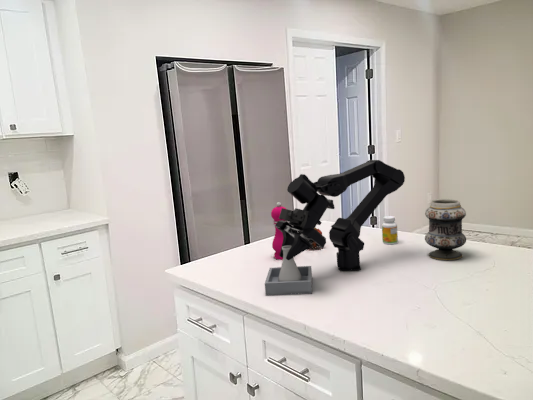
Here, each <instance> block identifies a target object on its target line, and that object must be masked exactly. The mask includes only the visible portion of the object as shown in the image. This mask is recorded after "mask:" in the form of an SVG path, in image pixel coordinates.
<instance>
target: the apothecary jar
mask: <svg viewBox="0 0 533 400" xmlns="http://www.w3.org/2000/svg"><path fill="white" fill-rule="evenodd" d="M424 215H425V217H426V218H427V219H428V232H427V233H426V234H425V236H424V241H425V243H426V244H427V245H429V246H430V247H432V248H435V250H432V251H430V252H429V253H428V256H429V257H430V258H431V259H435V260H438V261H456V260H461V259H462V258H463V257H464V256H463V253H461V252H459V251H458V250H455V249H459V248H461V247H463V246H464V245H465V244H466V243H467V237H466V235H465V234H464V233H463V219H464V218H465V217H466V216H467V211H466V210H465V209H464V208H463V207H462V205H461V201H460V200H458V199H453V198H437V199H432V200H431V201H430V205H429V207H427V208H426V209H425V211H424Z"/></svg>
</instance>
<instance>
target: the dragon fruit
mask: <svg viewBox="0 0 533 400" xmlns="http://www.w3.org/2000/svg"><path fill="white" fill-rule="evenodd" d="M314 229H316V230H317V231H318V232H319V233H320V234H322V235H323V232H322V231H321V229H320V228H317V226H316V227H315V228H314ZM312 246H313V247H312V248H311V247H310V248H309V249H317V248H318V247H317V246H316V243H315V242H314V241H313V243H312Z"/></svg>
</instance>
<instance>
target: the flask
mask: <svg viewBox="0 0 533 400" xmlns="http://www.w3.org/2000/svg"><path fill="white" fill-rule="evenodd" d="M290 248H291V246H283V247H282V250H283V260H282V263H281V266H280V267H281V270H280V274H279V278H278V282H284V281H301V280H302V276H301V274H300V272H299V270H298V267H297V266H298V265H297V263H296V261H295V259H294V258H295V257H293V258H292V259H290V260H287V259H286V256H287V254H288V252H289V250H290Z"/></svg>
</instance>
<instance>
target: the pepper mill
mask: <svg viewBox="0 0 533 400" xmlns="http://www.w3.org/2000/svg"><path fill="white" fill-rule="evenodd" d="M275 205H276V206H275V207H274V208H272V210H271V212H270V215H271V218H272V219H273V220H272V223H273V225H274V228H275V229H274V230H275V231H274V232H275V233H274V235H273V239H272V243H271V244H272V246H271V247H272V250H273V251H275V252H274V253H273V254H274V259H275V260H279V261H283V257H280V256H279V255H280V251H281V247H282V243H283V233H282V232H281V231H280V230H279V229H278V228H276V227H275V225H276V224H277V222H278V221H280V220H283V221H286V220H284V219H279V216H280V213H281V209H282V208H283V209H287V208H286V207H285V206H282V203H281V202H280V201H279V202H278V201H277V203H276V204H275Z"/></svg>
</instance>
